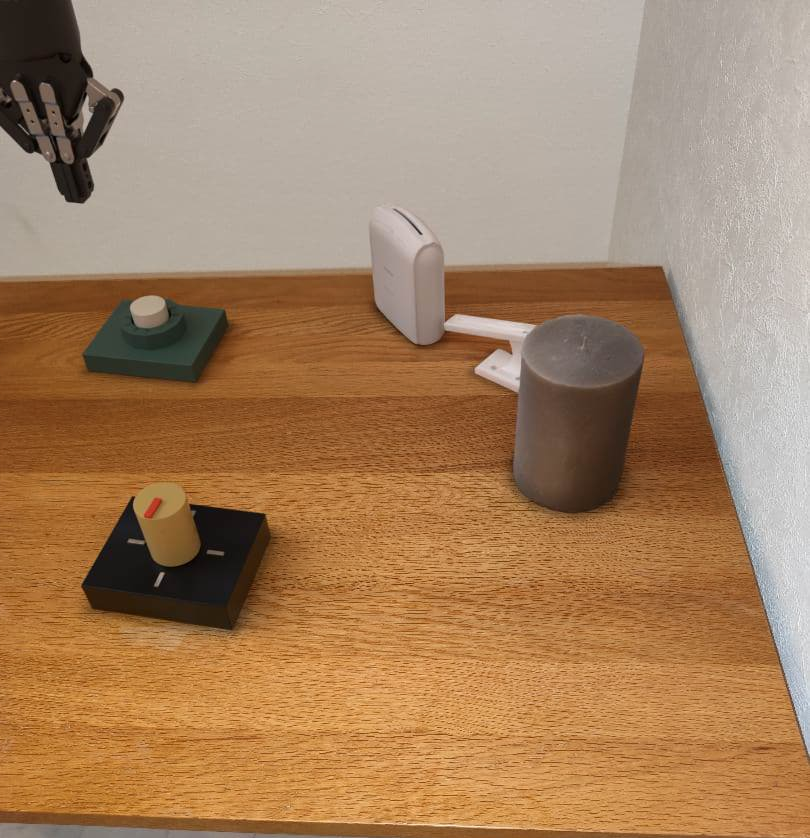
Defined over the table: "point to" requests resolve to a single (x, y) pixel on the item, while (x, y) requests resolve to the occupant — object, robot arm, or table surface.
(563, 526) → the table surface
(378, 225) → the photo printer
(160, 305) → the bell button
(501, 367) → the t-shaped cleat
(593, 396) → the pillar candle
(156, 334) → the block
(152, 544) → the lock knob
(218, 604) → the plate
